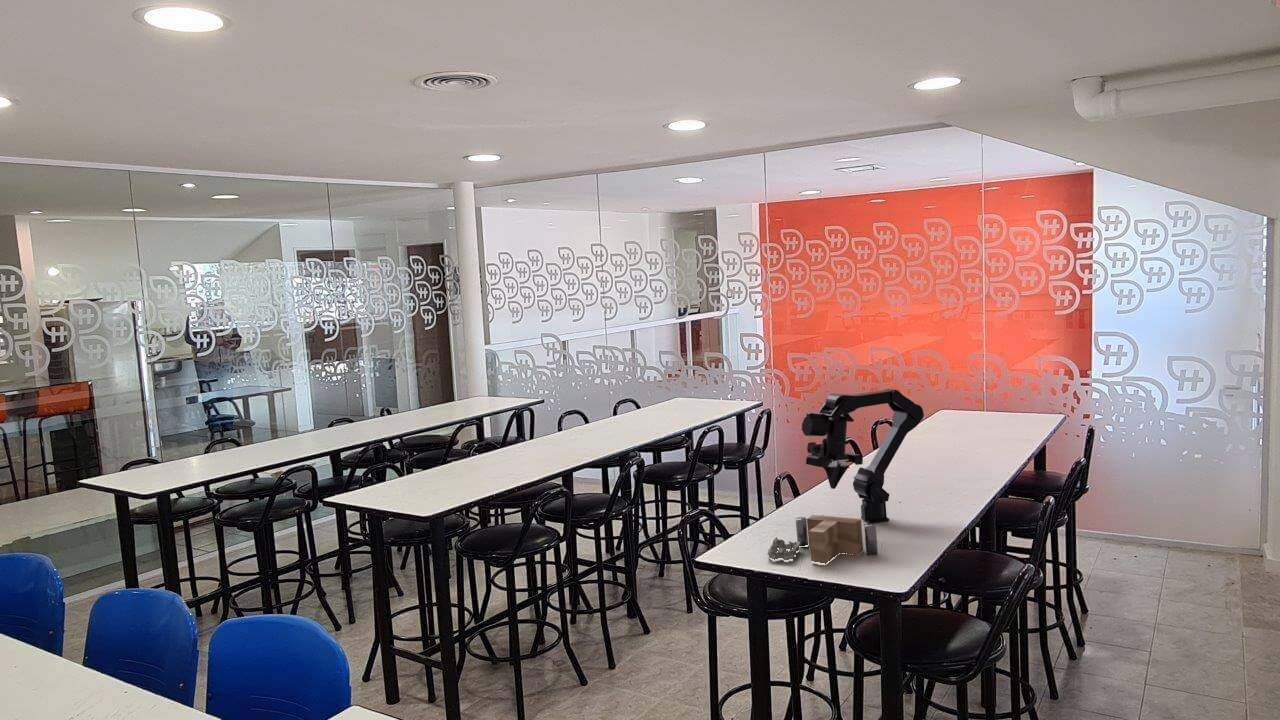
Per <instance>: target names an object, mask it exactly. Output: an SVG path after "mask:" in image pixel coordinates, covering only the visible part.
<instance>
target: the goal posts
mask: <svg viewBox="0 0 1280 720" xmlns="http://www.w3.org/2000/svg"><path fill="white" fill-rule="evenodd" d="M795 527H796V540H797V541H796V542H800V544H799V546H805V545H808V544H809V539H808V527H807V517H803V516H801V517H795ZM863 527H864V537H865V538H864V540H865V552H866V553H865V554H866V555H867V556H869V555H875V556H878V555H879V550H878V537H877V536H878V535H877V534H878V533H877V525H876V523H868V522H867V523H865V524H864V525H863ZM877 554H878V555H877Z"/></svg>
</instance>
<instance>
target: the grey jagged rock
mask: <svg viewBox="0 0 1280 720" xmlns="http://www.w3.org/2000/svg"><path fill="white" fill-rule="evenodd" d="M799 544H800V542H797V541H794V542H792V541H788V543H786V542H785V540H784V539H779V538H778V536H776V537H775V538H774V539H773V541H772V544H771V545H770V547H769V548H768V550H767V555H768V559H769V558H772V559H774V560H775V559H778V558H783V559H784V560H789V559H793V558H794V559H795V557H794V555H796V551H798V550H799V551H800V548H799ZM777 548H779V550H778V549H777ZM792 548H793V549H792ZM786 549H790V551H789V552H787V551H786ZM777 551H778V552H777Z"/></svg>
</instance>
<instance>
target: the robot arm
mask: <svg viewBox="0 0 1280 720" xmlns="http://www.w3.org/2000/svg"><path fill="white" fill-rule="evenodd" d="M884 404H887V406H888V407H889V408H890V409H891V410H892V411H893V415H892V418H891V419H892V425H891V427H890V429H889V430H888V433H887V434H886V436H885V438H884V439H883V441H882V443H881V445H880V447H879V448H878V450H876V451H877V452H876V453H875V455H874V457H873V458H872V460H871V461H870V464H869V465H868V466H866V467H862V465H863V464H864V463H863V462H864V460H863V459H864V458H863V456H862V454H858V453H853V452H846V448H847V447H846V446H847V445H849V444H850V440H847V431H848V430H847V429H848V423H854V421H855V419H853V418H852V416H851V415H850V414H851V413H854V412H855V411H856V410H858V409H861V408H867V407H872V406H873V407H874V406H878V405H884ZM924 416H925V413H924V409H923V407H922V406H921V405H920V404H917V403H915V402H914V401H912V400H911V399H910V398H908V397H907V396H905V395H903V393H901V392H900V391H899V390H898V389H894V388H893V389H892V388H885V389H883V390H877V391H870V392H864V393H855V394H847V393H830V394H828V396H827V397H826V399H825V402H824V403H823V405H822V406H821V407H820V409H819V410H818V412H817V413H815V412H806V416H805V417H804V419H803V420H802V423H801V430H802V433H803V435H804V436H806V437H826V438H823V439H822V443H819V444H817V443H816V441H812V442H808V443H807V447H806V450H807V453H808V455H807V456H806V458H805V459H806V460H805V465H809V466H814V467H817V468H822V469H824V471H825V473H826V476H827V479H828V483H829V487H830V489H832V490H835V489H836V487H838V484H839V483H840V481H841V479H842V478H843V476H844V475H845V473H846V472H847V470H848V469H850V466H849V465H847V463H854V465H857V466H858V465H861V466H860V467H859V468H858V470H857V473H856V474H855V476H854V477H853V482H852V486H853V490H854V492H855V493H857V496H858V498H859V499H861V504H860V513H861V515H860V519H861V520H863V521H866V522H867V523H873V524H875V523H879V522H886V521H890V518H889V517H887V515H888V514H887V504H886V503H887V502H889V499H890V493H889V492H888V491H887V490H885V489H884V488H883V486H884V484H885V473H886V471H887V469H888V468H889V466H890V464H891V462H892V460H893V459H894V457H895V455H896V454H897V452H898V450H899V449H900V446H901V445H902V443H903V441H904V439H905V438H906V436H907V434H909V433H910V432H911V431H913V430H914V429H915V428H917V426H919V424H920V423H921V422H922V420H923V418H924Z"/></svg>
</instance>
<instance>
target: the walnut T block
mask: <svg viewBox="0 0 1280 720" xmlns="http://www.w3.org/2000/svg"><path fill="white" fill-rule="evenodd" d="M806 520H807V532H808V544H809V547H808V549H809V548H810V551H809V552H810V562H811V561H814V562H820V563H825V564H826V563H827V562H828V561H830V560H831V559H832V558H833V557H835V556H836V555H838V554H839V553H845V554H846V553H847V554H851V555H850V556H855V555H858V556H859V554H860V553H861V552H862V551H863V552H864V546H863V545H864V541H863V527H862V518H854V517H853V518H852V517H842V516H830V515H819V514H812V515H810V516H809V517H806ZM863 552H862V553H863ZM862 553H861V554H862ZM845 554H844V555H845ZM852 554H853V555H852ZM861 554H860V555H861ZM838 556H839V555H838Z"/></svg>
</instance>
